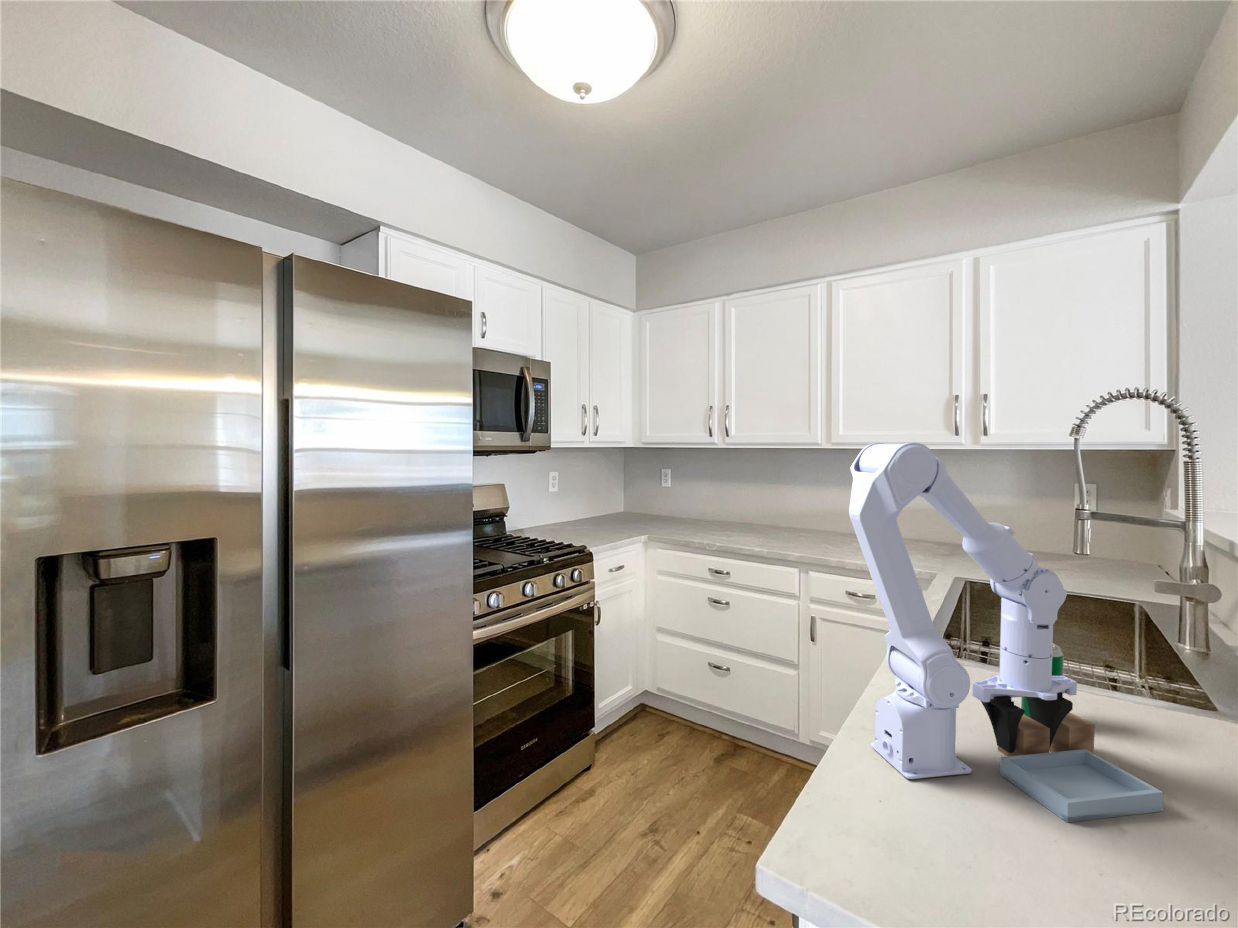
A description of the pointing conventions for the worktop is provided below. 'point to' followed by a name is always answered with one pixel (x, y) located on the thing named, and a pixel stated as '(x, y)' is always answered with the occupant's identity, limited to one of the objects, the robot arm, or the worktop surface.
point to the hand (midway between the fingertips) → (1023, 746)
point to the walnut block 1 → (1030, 738)
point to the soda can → (1056, 671)
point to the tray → (1080, 785)
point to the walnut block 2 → (1073, 735)
